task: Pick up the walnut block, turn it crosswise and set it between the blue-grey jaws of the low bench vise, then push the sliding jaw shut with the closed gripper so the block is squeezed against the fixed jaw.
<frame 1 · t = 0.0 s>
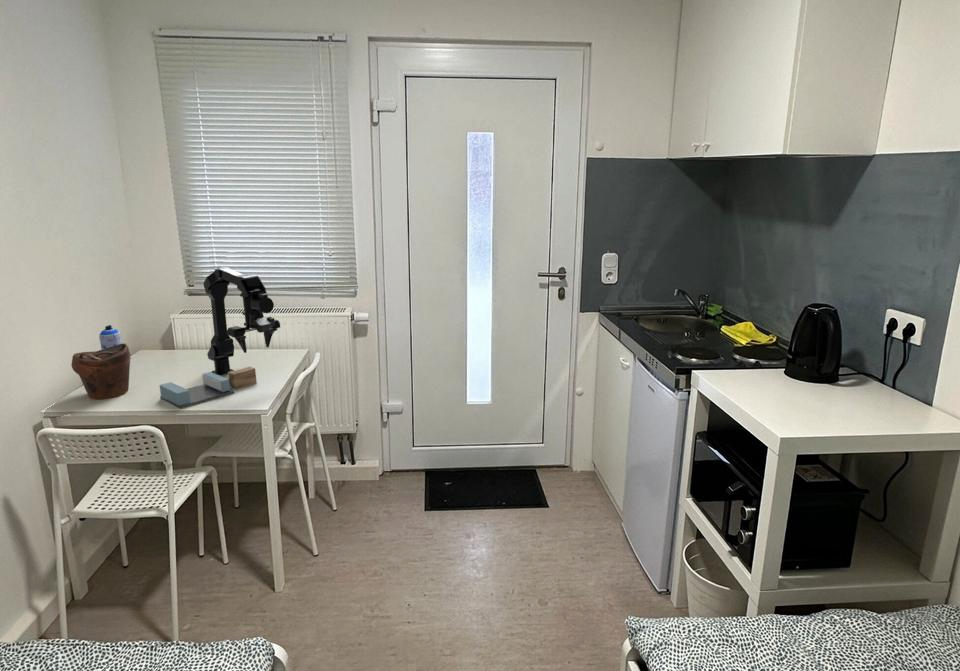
hand: (256, 349, 235), 15 cm above the table, tool pointing down, fingers open, 9 cm apart
walnut block: (243, 385, 241), on the table
fixed jaw: (175, 393, 223), on the vise bed, point 3 cm above the table
moving jaw: (215, 381, 235), point 3 cm above the table, slide at 0.0 cm
brown tapered container: (107, 394, 233), on the table
aerosol can: (116, 373, 257), on the table
vise bed: (203, 394, 232), on the table
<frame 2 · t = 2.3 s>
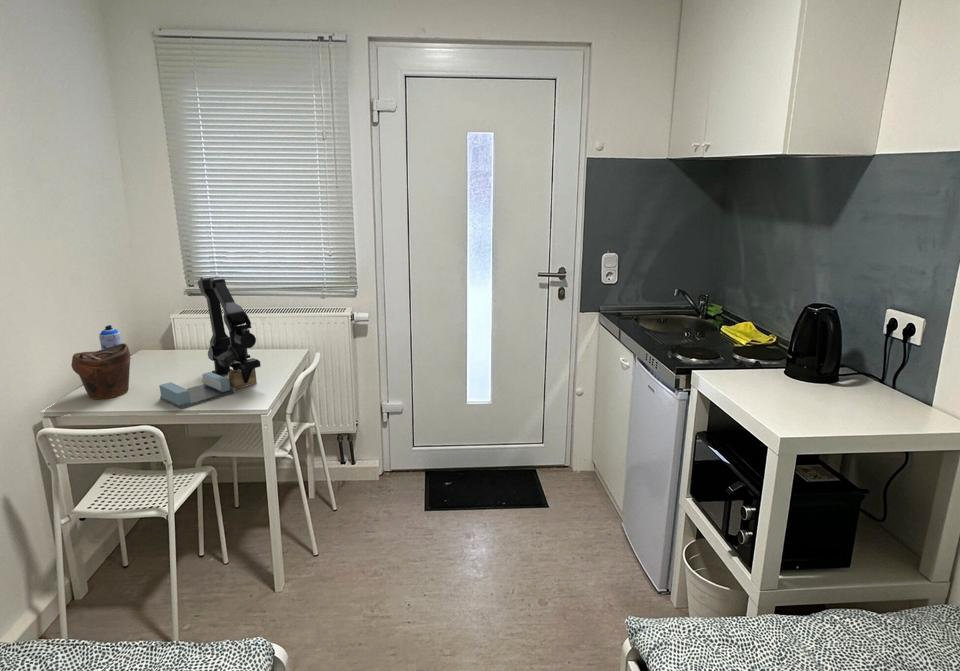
hand: (242, 381, 241), 1 cm above the table, tool pointing down, fingers closed on walnut block, 4 cm apart
walnut block: (243, 384, 241), on the table, touching gripper
everything else where it was.
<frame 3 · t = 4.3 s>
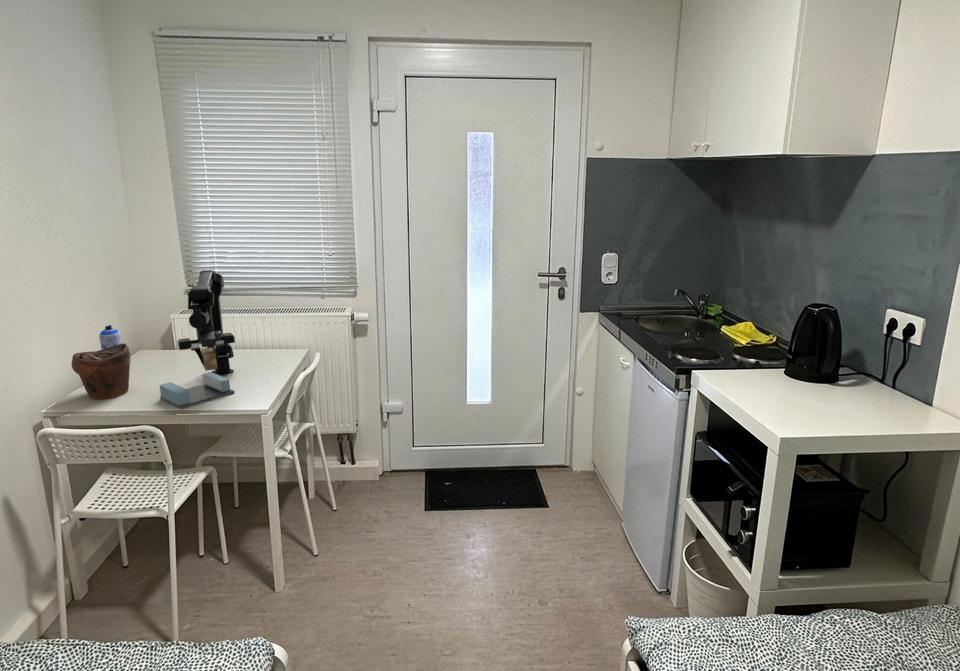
hand: (209, 363, 230), 11 cm above the table, tool pointing down, fingers closed on walnut block, 4 cm apart
walnut block: (209, 366, 231), point 10 cm above the table, touching gripper
everything else where it was.
when the fingers open (3 cm above the table, at t = 6.6 s): walnut block stays where it is, resting on vise bed.
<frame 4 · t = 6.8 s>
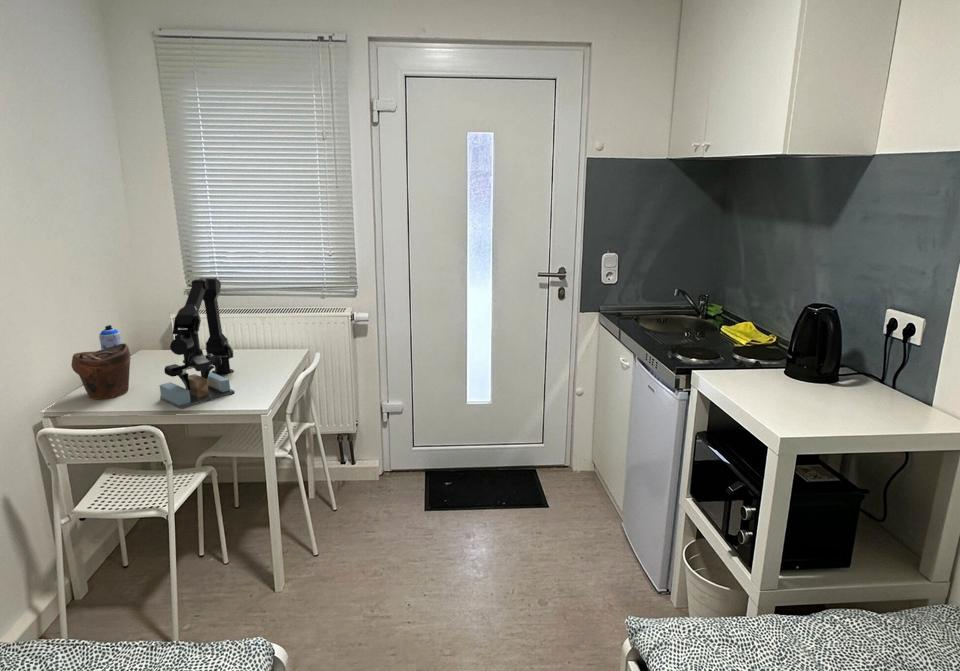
hand: (196, 387, 229), 3 cm above the table, tool pointing down, fingers open, 5 cm apart
walnut block: (197, 393, 230), point 1 cm above the table, touching vise bed
everything else where it was.
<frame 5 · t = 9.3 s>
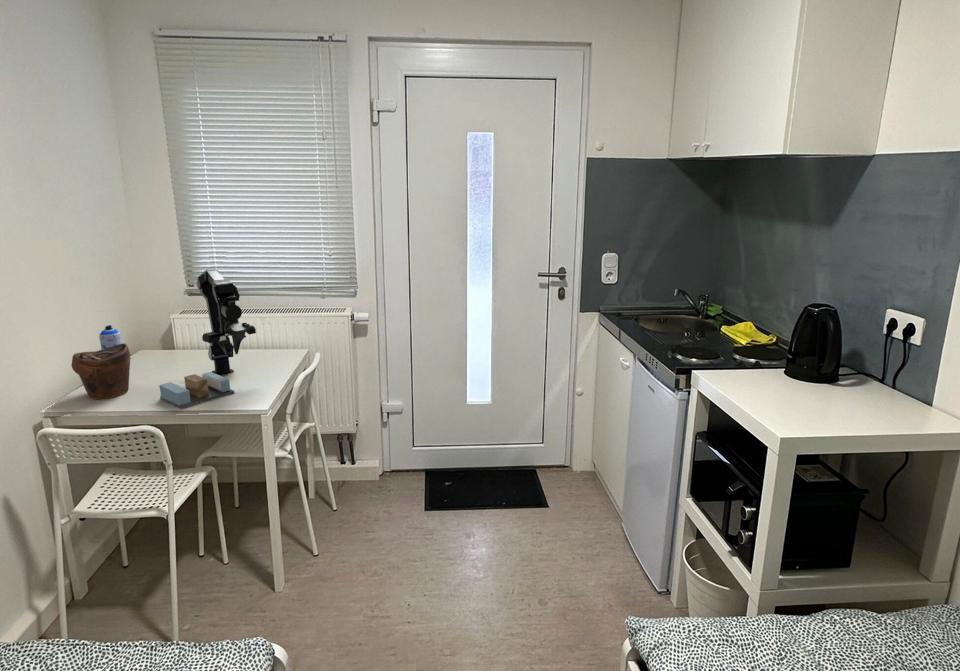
hand: (232, 355, 238), 12 cm above the table, tool pointing down, fingers open, 3 cm apart
nothing on the table moved.
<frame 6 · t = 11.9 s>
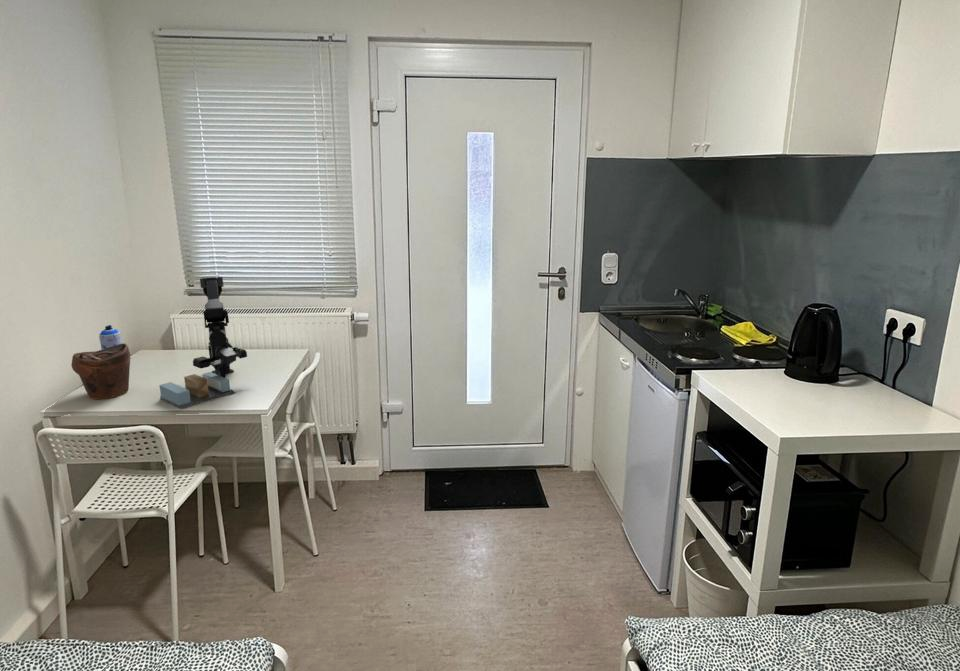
hand: (223, 379, 237), 4 cm above the table, tool pointing down, fingers closed
moving jaw: (215, 381, 235), point 3 cm above the table, slide at 0.0 cm, touching gripper
everything else where it was.
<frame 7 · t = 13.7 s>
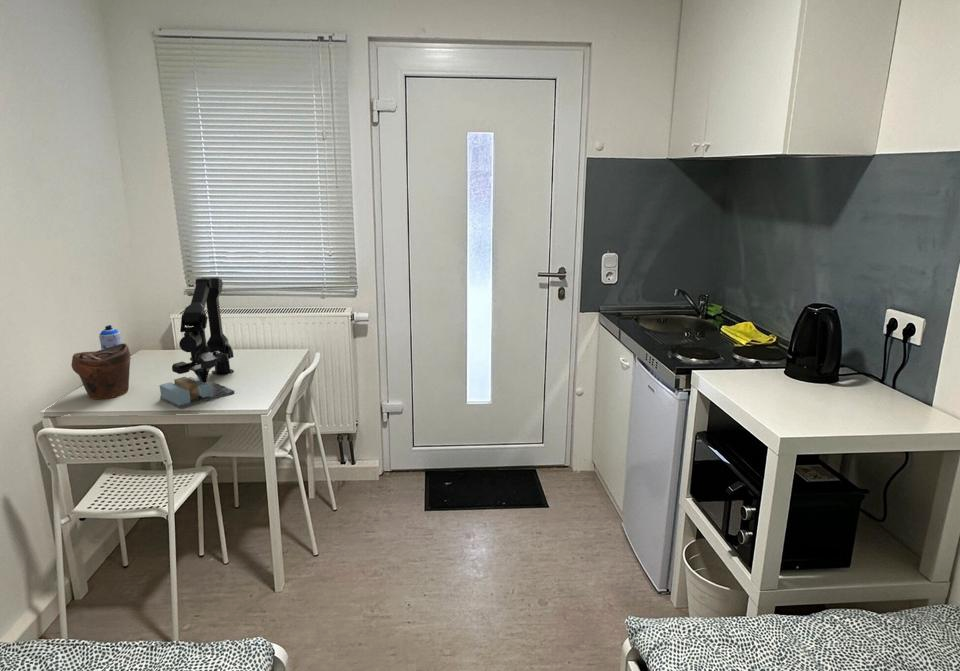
hand: (204, 384, 231), 4 cm above the table, tool pointing down, fingers closed
walnut block: (187, 396, 227), point 1 cm above the table, touching fixed jaw, moving jaw
moving jaw: (196, 387, 229), point 3 cm above the table, slide at 7.4 cm, touching gripper, walnut block
everything else where it was.
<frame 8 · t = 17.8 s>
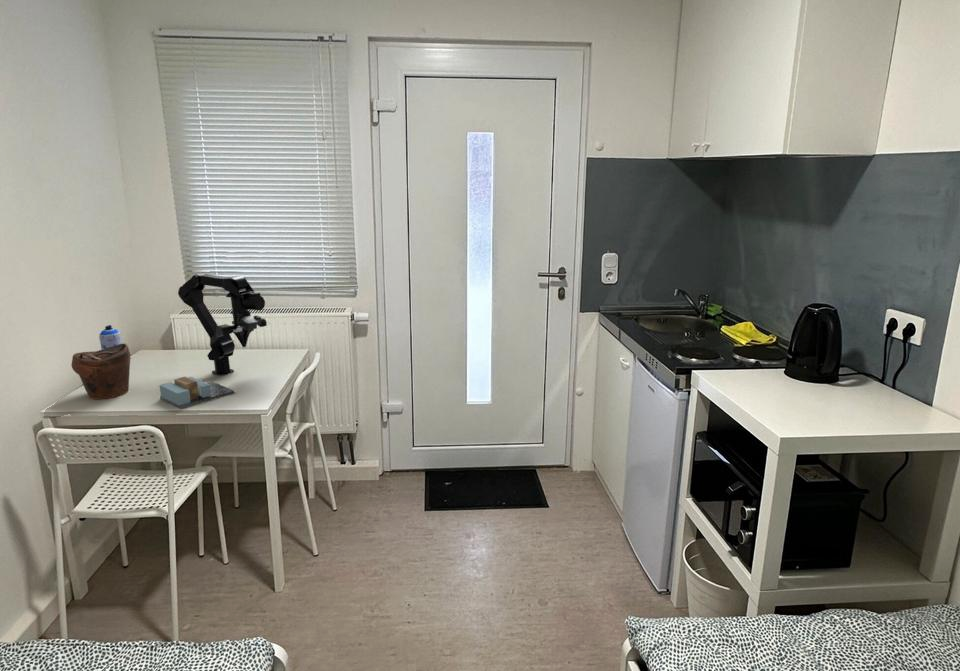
hand: (244, 346, 249), 12 cm above the table, tool pointing down, fingers closed
walnut block: (187, 396, 227), point 1 cm above the table, touching fixed jaw, vise bed
moving jaw: (196, 387, 229), point 3 cm above the table, slide at 7.4 cm
everything else where it was.
at the end: moving jaw slide at 7.4 cm; walnut block 0.4 cm from the target spot, point 1.0 cm above the table; walnut block tilted 0° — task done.
